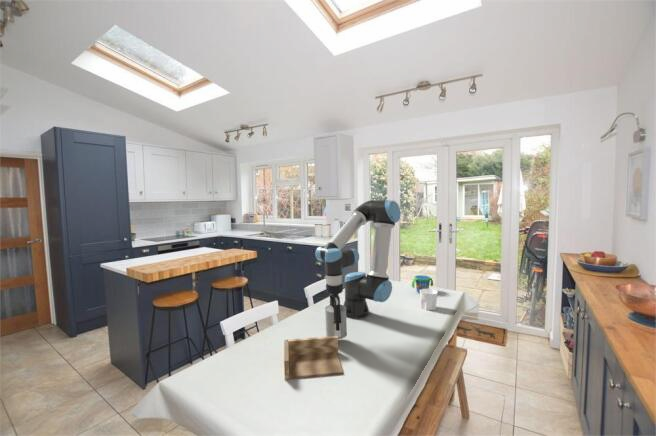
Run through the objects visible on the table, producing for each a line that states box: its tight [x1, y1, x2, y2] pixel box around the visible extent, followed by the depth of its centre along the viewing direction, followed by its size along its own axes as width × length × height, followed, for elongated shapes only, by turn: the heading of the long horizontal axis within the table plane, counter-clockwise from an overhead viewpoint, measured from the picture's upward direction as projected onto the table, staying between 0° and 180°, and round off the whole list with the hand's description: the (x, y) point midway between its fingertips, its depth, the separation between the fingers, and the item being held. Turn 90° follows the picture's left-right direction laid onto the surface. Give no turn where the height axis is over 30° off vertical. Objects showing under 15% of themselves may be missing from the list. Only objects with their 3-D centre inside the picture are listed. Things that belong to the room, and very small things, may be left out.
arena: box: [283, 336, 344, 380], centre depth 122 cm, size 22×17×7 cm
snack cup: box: [411, 274, 434, 293], centre depth 211 cm, size 16×10×10 cm
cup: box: [419, 288, 438, 311], centre depth 181 cm, size 10×10×10 cm
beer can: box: [324, 304, 348, 340], centre depth 140 cm, size 10×10×12 cm
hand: (335, 331), depth 140 cm, fingers closed on beer can, 9 cm apart
